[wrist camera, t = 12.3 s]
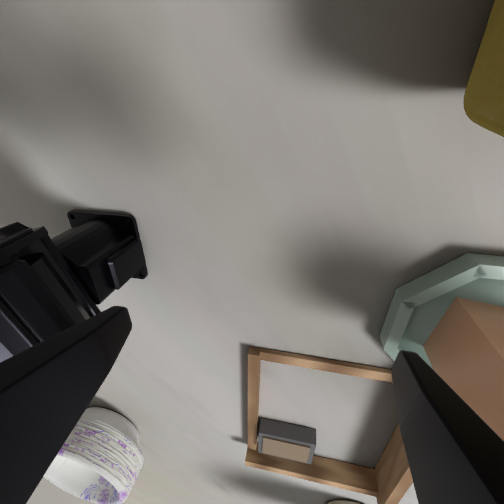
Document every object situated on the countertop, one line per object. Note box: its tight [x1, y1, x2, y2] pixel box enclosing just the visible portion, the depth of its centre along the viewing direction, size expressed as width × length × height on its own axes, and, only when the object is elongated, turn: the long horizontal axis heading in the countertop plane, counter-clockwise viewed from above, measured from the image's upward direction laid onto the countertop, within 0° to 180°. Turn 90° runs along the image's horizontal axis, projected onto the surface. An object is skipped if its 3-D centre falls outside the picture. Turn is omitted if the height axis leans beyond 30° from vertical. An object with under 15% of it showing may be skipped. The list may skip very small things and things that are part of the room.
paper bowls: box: [43, 407, 144, 504], centre depth 40 cm, size 15×15×8 cm
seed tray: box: [258, 418, 316, 464], centre depth 34 cm, size 7×5×2 cm
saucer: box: [379, 253, 504, 370], centre depth 21 cm, size 13×13×2 cm
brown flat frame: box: [245, 346, 413, 504], centre depth 30 cm, size 18×21×4 cm
